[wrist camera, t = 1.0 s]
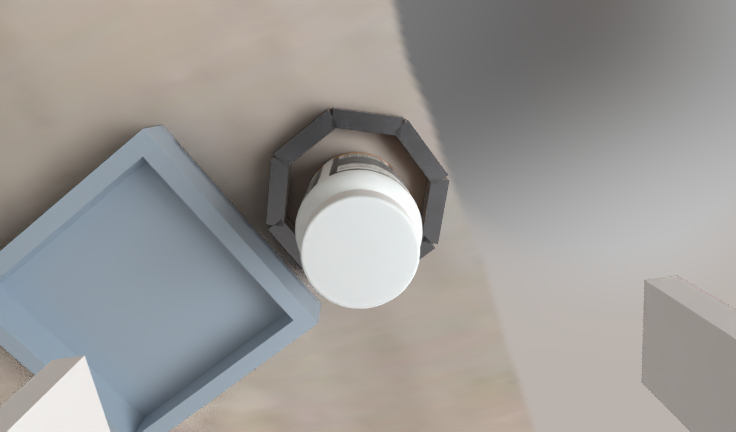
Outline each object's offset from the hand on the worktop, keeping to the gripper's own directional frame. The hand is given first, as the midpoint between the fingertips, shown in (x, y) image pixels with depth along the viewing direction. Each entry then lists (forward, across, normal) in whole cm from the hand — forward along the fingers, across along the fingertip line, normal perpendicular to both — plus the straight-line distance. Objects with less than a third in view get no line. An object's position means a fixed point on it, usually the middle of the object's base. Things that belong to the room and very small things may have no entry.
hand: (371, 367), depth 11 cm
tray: (+17, -13, -4) cm, 22 cm away
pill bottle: (+17, 0, 0) cm, 17 cm away
